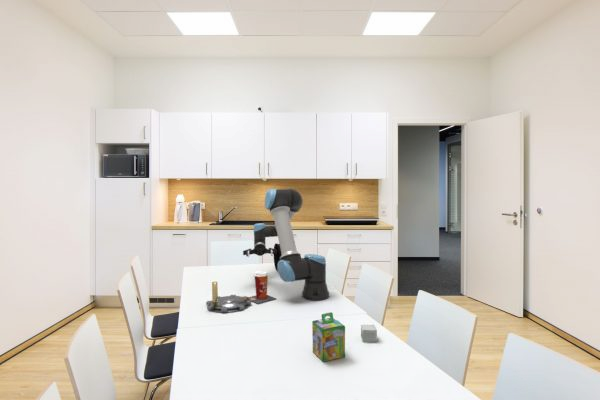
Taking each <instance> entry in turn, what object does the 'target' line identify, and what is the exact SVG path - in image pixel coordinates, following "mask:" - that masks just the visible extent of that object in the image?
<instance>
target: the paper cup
mask: <svg viewBox="0 0 600 400" xmlns="http://www.w3.org/2000/svg"><path fill="white" fill-rule="evenodd" d="M253 276H254V282H255V283H254V284H255V296H256V297H257V299H266V298H267V295H268V277H269V273H268V271H265V270H258V271H255V272H254V275H253Z"/></svg>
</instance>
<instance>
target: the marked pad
mask: <svg viewBox="0 0 600 400" xmlns="http://www.w3.org/2000/svg"><path fill="white" fill-rule="evenodd" d="M248 297H249V299H248V300H252V303H254V304H257V305H262V304H264V303H268V302H271V301H276V300H277V297H274V296H272V295H269V294H267V298H266V299H257V297H256V295H252V296H248Z"/></svg>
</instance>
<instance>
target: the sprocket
mask: <svg viewBox="0 0 600 400" xmlns="http://www.w3.org/2000/svg"><path fill="white" fill-rule="evenodd" d="M218 288H219V287H218V281H212V282H211V297H212V299H211V300H207V301H206V302H205V305H206V306H207V305H210V306H208V309H210V310H213V309H217V310H221V312H227V311H228V310H233V309H239V310H241V309H244V306H246V305H247V304H250V305H252V303H253V302H252V300H248V299H249V297H250V296H247V295H242V296H240V295H236V294H230V295H226V296H225V295H224V296H219V295H218ZM208 309H207V310H208Z"/></svg>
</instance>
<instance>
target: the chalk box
mask: <svg viewBox="0 0 600 400" xmlns="http://www.w3.org/2000/svg"><path fill="white" fill-rule="evenodd" d="M326 317H327V318H326ZM311 322H312V323H311V324H312V327H311V328H312V330H311V331H312V333H311V334H312V353H314V354H315V355H316V356H317V357H318V358H319V359H320V360H321V361H322V362H323V363H324V362H328V361H333V360H337V359H342V358H345V357H346V326H345V325H344V324H343V323H341V322H340V321H339V320H338V319H335V318H334V314H333V312H326V313H322V314H321V319H317V320H313V321H311Z"/></svg>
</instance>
